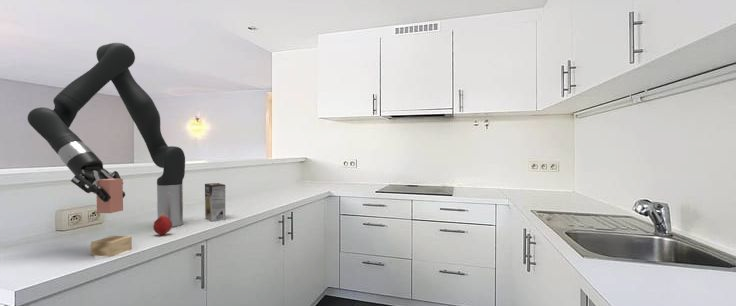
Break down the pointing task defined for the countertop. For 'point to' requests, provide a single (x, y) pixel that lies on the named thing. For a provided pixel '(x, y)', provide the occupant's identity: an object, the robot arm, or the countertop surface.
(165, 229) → the onion
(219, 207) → the coffee box
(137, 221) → the countertop surface
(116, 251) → the oak base block
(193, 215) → the countertop surface
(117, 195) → the red pillar block
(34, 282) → the countertop surface
